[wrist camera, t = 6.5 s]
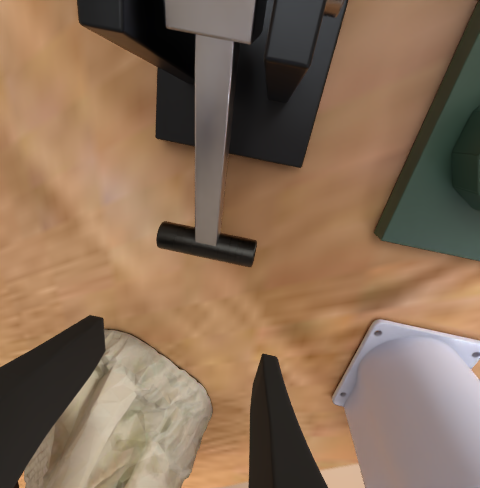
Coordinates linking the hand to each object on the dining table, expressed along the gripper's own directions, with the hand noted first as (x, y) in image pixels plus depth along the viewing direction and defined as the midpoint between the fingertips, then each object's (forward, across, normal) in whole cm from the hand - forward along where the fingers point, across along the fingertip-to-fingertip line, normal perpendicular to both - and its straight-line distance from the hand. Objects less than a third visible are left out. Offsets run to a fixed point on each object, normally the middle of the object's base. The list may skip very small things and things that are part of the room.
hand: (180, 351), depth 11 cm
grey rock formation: (+8, +6, +17) cm, 20 cm away
